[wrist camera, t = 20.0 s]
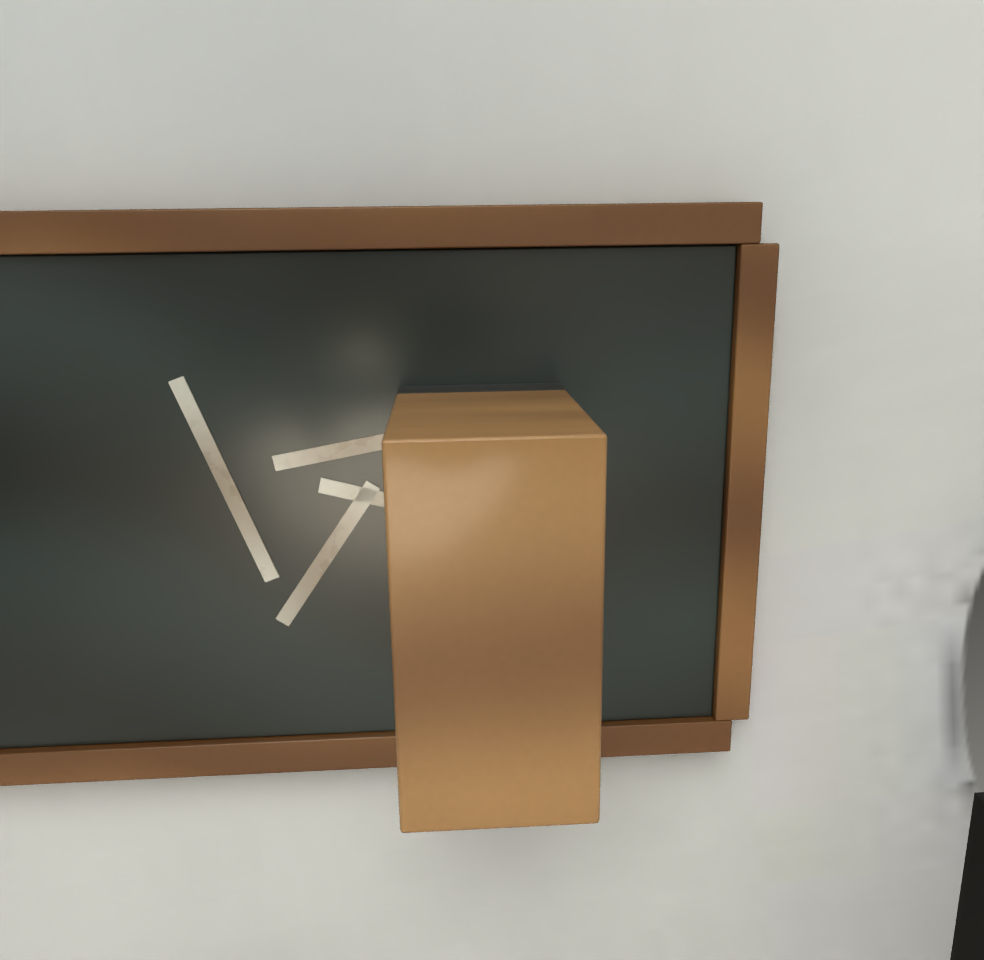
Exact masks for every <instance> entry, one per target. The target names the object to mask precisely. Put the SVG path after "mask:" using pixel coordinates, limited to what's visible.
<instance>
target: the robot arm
mask: <svg viewBox="0 0 984 960" xmlns="http://www.w3.org/2000/svg"><path fill="white" fill-rule="evenodd" d="M950 960H984V792H980V793H975V794H974V801H973V808H972V815H971V822H970V829H969V835H968V842H967V849H966V856H965V863H964V870H963V877H962V883H961V890H960V897H959V904H958V911H957V918H956V925H955V932H954V938H953V945H952V952H951V959H950Z"/></svg>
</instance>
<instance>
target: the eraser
mask: <svg viewBox="0 0 984 960" xmlns="http://www.w3.org/2000/svg"><path fill="white" fill-rule="evenodd" d="M381 447H382V467H383V488H384V508H385V529H386V549H387V570H388V590H389V611H390V631H391V652H392V672H393V693H394V713H395V733H396V754H397V774H398V795H399V815H400V830H401V832H403V833H411V832H431V831H451V830H471V829H490V828H510V827H530V826H550V825H570V824H590V823H598V822H599V818H600V769H601V719H602V670H603V621H604V572H605V522H606V473H607V436H606V434H605V433H604V432H603V431H602V430H601V428H600V427H599V426H598V425H597V424H596V423H595V422H594V421H593V420H592V419H591V418H590V416H589V415H588V414H587V413H586V412H585V411H584V410H583V409H582V408H581V407H580V406H579V404H578V403H577V402H576V401H575V400H574V399H573V398H572V397H571V396H570V395H569V394H568V393H567V391H566V390H565V389H564V388H563V387H562V386H561V385H560V383H558V382H554V383H511V384H468V385H425V386H400V387H399V388H398V391H397V394H396V398H395V401H394V405H393V408H392V411H391V414H390V417H389V421H388V424H387V427H386V430H385V433H384V436H383V440H382V443H381Z"/></svg>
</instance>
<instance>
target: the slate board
mask: <svg viewBox="0 0 984 960" xmlns="http://www.w3.org/2000/svg"><path fill="white" fill-rule="evenodd" d="M762 207H763V203H762V202H713V203H630V204H547V205H463V206H380V207H297V208H214V209H131V210H48V211H0V786H9V785H30V784H50V783H71V782H92V781H113V780H134V779H155V778H176V777H197V776H218V775H239V774H260V773H281V772H301V771H322V770H343V769H364V768H385V767H397V754H396V733H395V713H394V693H393V672H392V652H391V631H390V611H389V590H388V570H387V549H386V529H385V508H384V488H383V467H382V447H381V443H382V440H383V436H384V433H385V430H386V427H387V424H388V421H389V417H390V414H391V411H392V408H393V405H394V401H395V398H396V394H397V391H398V388H399V387H400V386H425V385H468V384H511V383H554V382H558V383H560V385H561V386H562V387H563V388H564V389H565V390H566V391H567V393H568V394H569V395H570V396H571V397H572V398H573V399H574V400H575V401H576V402H577V403H578V404H579V406H580V407H581V408H582V409H583V410H584V411H585V412H586V413H587V414H588V415H589V416H590V418H591V419H592V420H593V421H594V422H595V423H596V424H597V425H598V426H599V427H600V428H601V430H602V431H603V432H604V433H605V434H606V436H607V473H606V522H605V572H604V621H603V670H602V719H601V757H615V756H636V755H657V754H678V753H699V752H720V751H730V743H731V726H732V721H731V720H742V719H748V718H749V704H750V689H751V673H752V658H753V642H754V627H755V612H756V596H757V581H758V566H759V550H760V535H761V520H762V504H763V489H764V474H765V458H766V443H767V428H768V412H769V397H770V382H771V366H772V351H773V335H774V320H775V305H776V289H777V274H778V259H779V244H777V243H765V244H759V243H760V240H761V223H762Z"/></svg>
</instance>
